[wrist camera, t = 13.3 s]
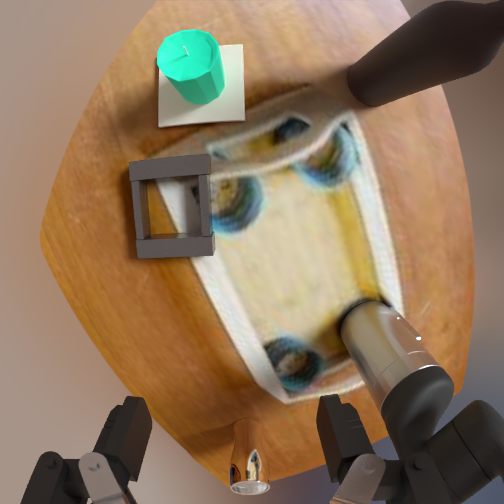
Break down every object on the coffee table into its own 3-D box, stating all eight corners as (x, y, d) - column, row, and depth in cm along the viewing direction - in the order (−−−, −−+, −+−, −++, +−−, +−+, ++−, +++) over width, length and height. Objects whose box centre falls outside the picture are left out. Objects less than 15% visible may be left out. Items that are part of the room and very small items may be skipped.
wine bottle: (398, 98, 32) (570, 53, 4) (362, 113, 33) (550, 58, 4) (374, 57, 31) (521, -31, 2) (337, 70, 31) (483, -48, 3)
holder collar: (210, 155, 34) (207, 153, 32) (215, 249, 38) (213, 255, 35) (137, 162, 34) (128, 162, 31) (145, 251, 38) (138, 258, 35)
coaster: (242, 47, 30) (242, 44, 29) (244, 121, 33) (245, 119, 32) (161, 55, 30) (160, 52, 29) (160, 127, 33) (158, 126, 32)
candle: (169, 87, 31) (138, 54, 19) (202, 55, 30) (185, 11, 18) (202, 113, 32) (183, 87, 20) (235, 81, 31) (232, 42, 19)
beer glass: (252, 412, 47) (255, 477, 33) (272, 428, 49) (279, 488, 34) (223, 424, 48) (220, 486, 34) (244, 439, 50) (245, 498, 35)
